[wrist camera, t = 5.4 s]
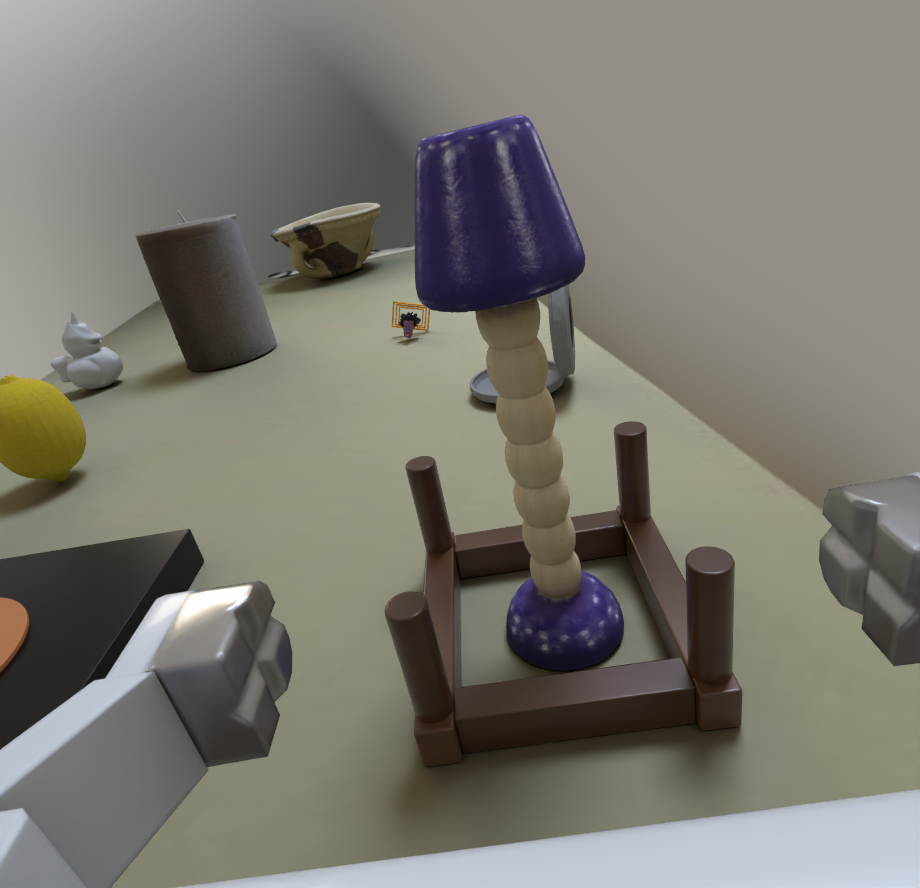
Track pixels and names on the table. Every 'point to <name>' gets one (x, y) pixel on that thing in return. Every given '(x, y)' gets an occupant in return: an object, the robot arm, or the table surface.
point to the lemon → (38, 429)
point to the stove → (78, 616)
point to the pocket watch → (560, 345)
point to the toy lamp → (515, 356)
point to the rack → (575, 693)
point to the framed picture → (409, 319)
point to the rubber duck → (86, 358)
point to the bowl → (331, 240)
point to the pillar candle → (208, 291)
